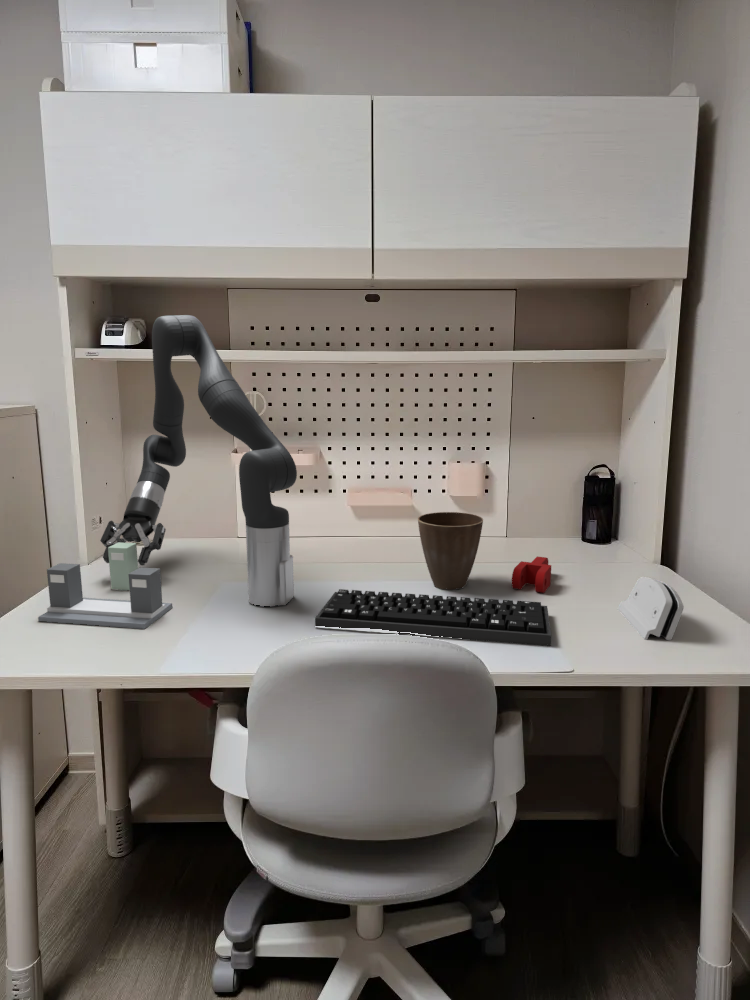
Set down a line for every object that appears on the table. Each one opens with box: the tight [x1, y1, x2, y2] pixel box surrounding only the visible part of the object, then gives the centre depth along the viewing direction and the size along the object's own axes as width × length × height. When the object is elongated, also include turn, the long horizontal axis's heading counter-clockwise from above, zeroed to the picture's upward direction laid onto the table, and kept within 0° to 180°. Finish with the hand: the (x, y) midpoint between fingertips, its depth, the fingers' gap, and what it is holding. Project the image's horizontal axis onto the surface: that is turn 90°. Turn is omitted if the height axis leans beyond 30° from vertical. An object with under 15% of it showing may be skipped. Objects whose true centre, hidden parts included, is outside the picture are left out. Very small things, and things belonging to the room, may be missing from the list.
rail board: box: [37, 562, 173, 630], centre depth 141 cm, size 23×12×10 cm, turn 80°
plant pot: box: [417, 511, 484, 591], centre depth 159 cm, size 15×15×16 cm
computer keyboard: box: [314, 588, 552, 647], centre depth 138 cm, size 45×16×4 cm, turn 79°
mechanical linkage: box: [511, 556, 552, 594], centre depth 162 cm, size 16×7×5 cm, turn 153°
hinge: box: [616, 576, 685, 641], centre depth 136 cm, size 17×5×10 cm, turn 178°
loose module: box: [108, 542, 139, 591], centre depth 158 cm, size 4×5×10 cm
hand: (123, 562), depth 159 cm, fingers open, 8 cm apart
